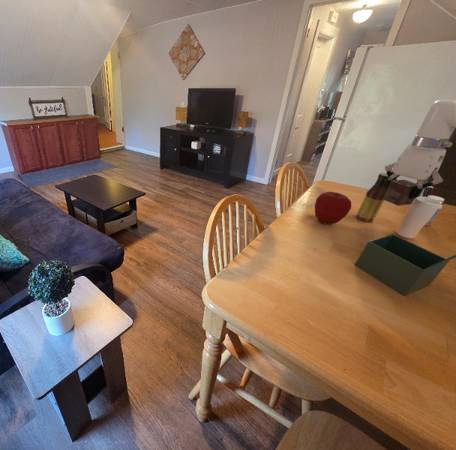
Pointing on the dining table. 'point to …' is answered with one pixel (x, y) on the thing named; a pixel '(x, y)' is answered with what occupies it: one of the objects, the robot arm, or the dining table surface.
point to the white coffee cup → (417, 216)
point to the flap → (442, 261)
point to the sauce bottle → (373, 199)
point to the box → (400, 192)
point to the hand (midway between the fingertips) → (400, 193)
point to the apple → (332, 207)
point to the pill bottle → (437, 210)
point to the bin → (400, 264)
